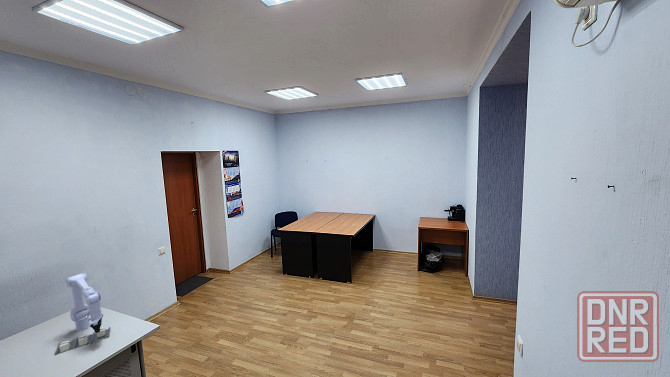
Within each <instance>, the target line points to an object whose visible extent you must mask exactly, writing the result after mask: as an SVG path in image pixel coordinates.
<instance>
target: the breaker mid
mask: <svg viewBox="0 0 670 377" xmlns="http://www.w3.org/2000/svg"><path fill="white" fill-rule="evenodd" d="M87 335H88V334H85V335H82V336H79V337H78V338H79V340H78V341H79V346H81V345H84V344H87V343H88V336H87ZM87 345H88V344H87ZM84 346H85V345H84ZM81 347H82V346H81Z"/></svg>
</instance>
